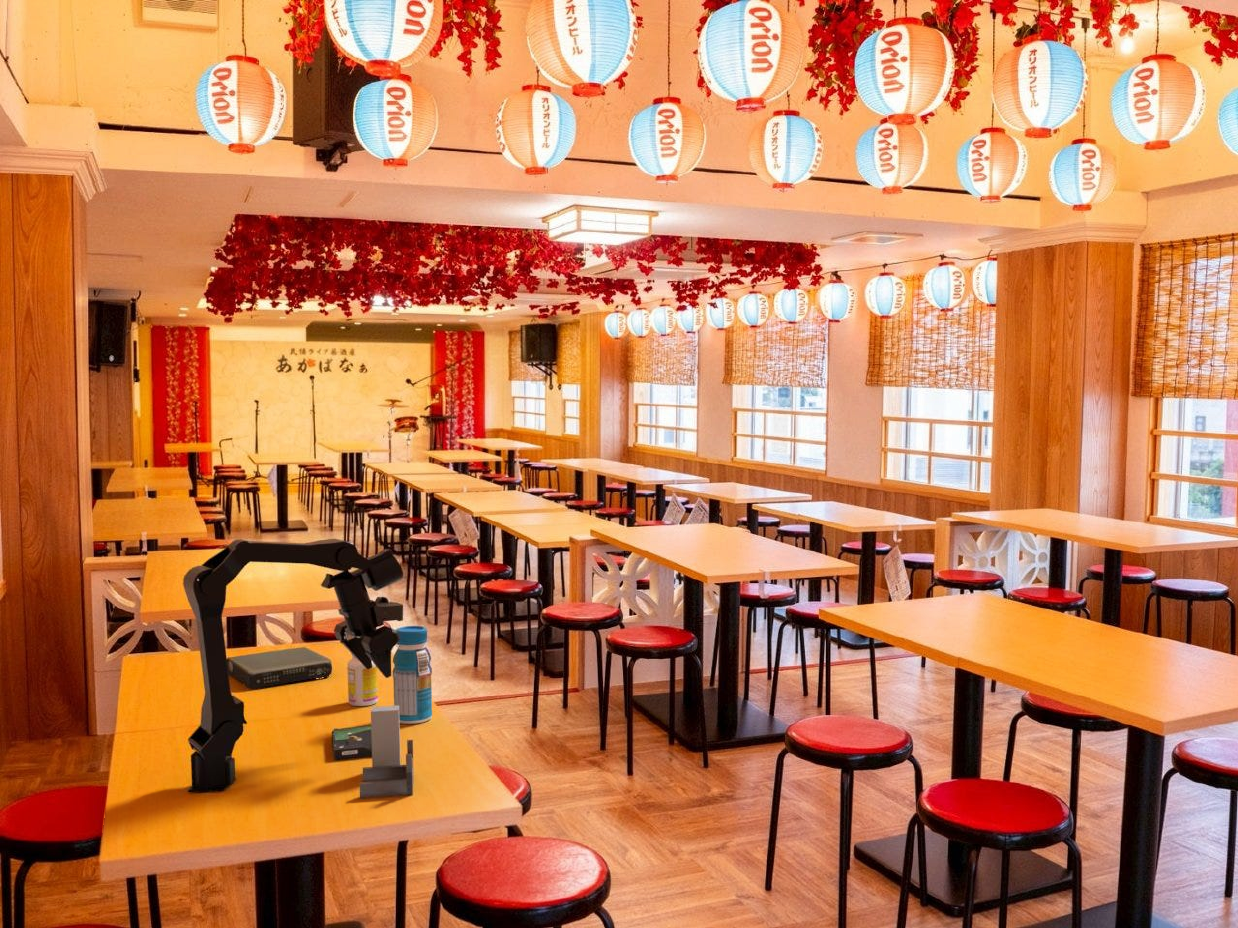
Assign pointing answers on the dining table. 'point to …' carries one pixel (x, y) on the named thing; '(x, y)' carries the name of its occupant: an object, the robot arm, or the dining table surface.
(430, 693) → the beverage bottle
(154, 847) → the dining table surface
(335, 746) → the disk drive
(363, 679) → the supplement bottle
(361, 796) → the rack
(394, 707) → the grey block
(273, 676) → the network switch
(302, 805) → the dining table surface
